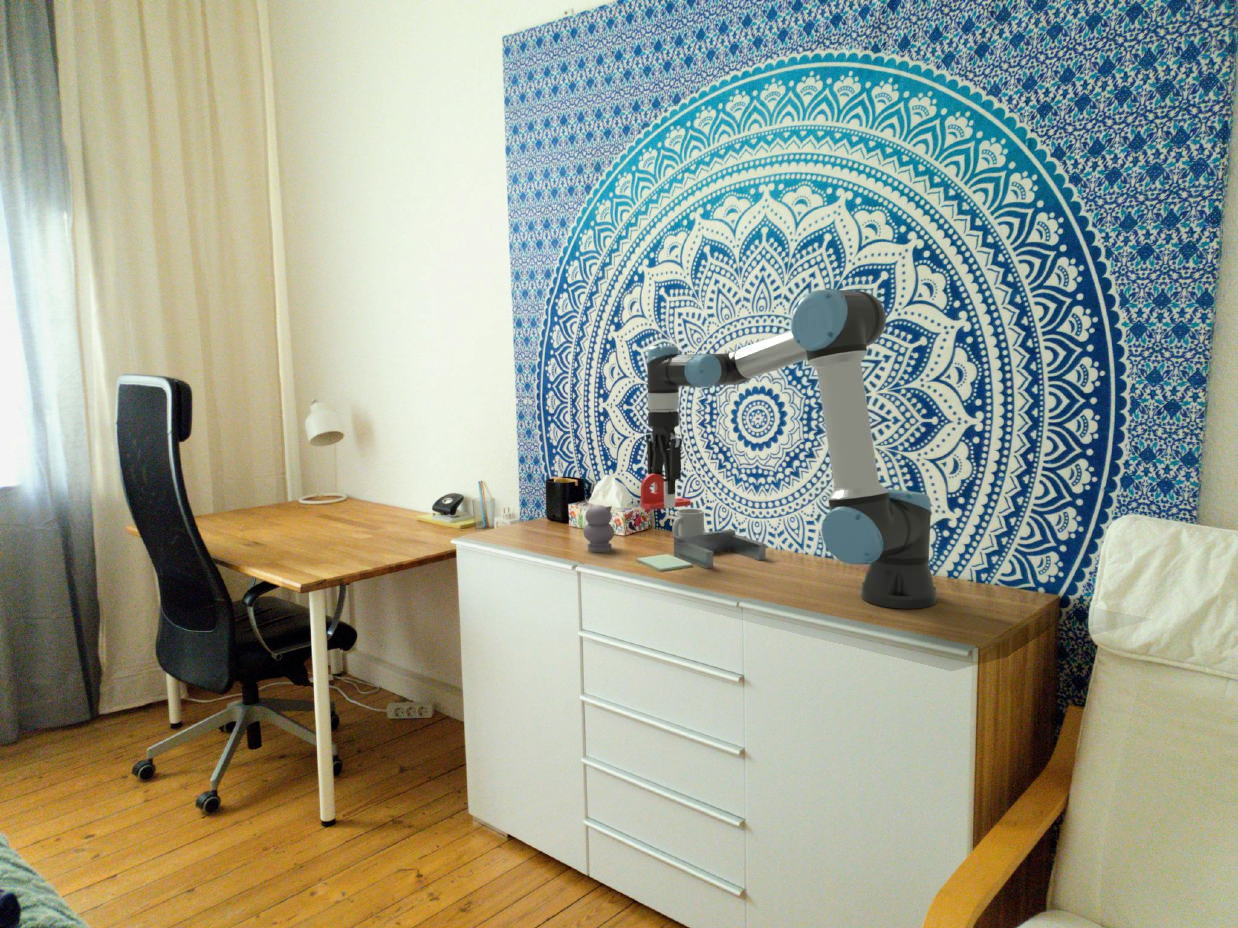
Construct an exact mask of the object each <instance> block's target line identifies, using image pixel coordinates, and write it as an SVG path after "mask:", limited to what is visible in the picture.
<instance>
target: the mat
mask: <svg viewBox="0 0 1238 928" xmlns="http://www.w3.org/2000/svg"><path fill="white" fill-rule="evenodd" d="M636 562H638V563H641V564H642V565H645V566H648V567H650V568H653V570H654V569H655V570H657V571H659V572H664V571H665V572H666V571H672V570H673V571H674V570H678V569H685V568H692V567H693V566H694V564H693V563H691V562H688V561H686V560H683V559H681V558H678V557H675V556H674V555H670V554H668V553H666V554H657V555H651V556H644V557H638V558H636Z"/></svg>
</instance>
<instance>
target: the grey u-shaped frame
mask: <svg viewBox="0 0 1238 928" xmlns="http://www.w3.org/2000/svg"><path fill="white" fill-rule="evenodd" d="M766 545H767V544H766V543H764V542H761V541H758V540H754V539H751V538H748V537H745V536H741V535H739V534H736V530H735V529H732V528H731V529H730V528H729V529H724V530H716V531H708V532H704V533H699V534H691V535H684V536H676V537H673V557H676V558H679V559H681V560H684V561H686V562H689V563H691V564H693V565H696V566H698V567H701V568H704V569H713V568H714V553H719V552H725V551H730V552H733V553H736V554H739V555H742V556H744V557H748V558H750V559H753V560H756V561H765V560H766V559H767V558H766V553H767V551H766V547H767V546H766Z"/></svg>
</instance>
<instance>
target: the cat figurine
mask: <svg viewBox="0 0 1238 928" xmlns="http://www.w3.org/2000/svg"><path fill="white" fill-rule="evenodd" d="M589 505H590V506H589V507H588V509H587V510H586V512H585V520H586V522H587V524H586V525H584V528H583V536H584V538H585V539H586V540H587V541H588V542H589V543H588V544H587V551H589V552H591V553H607V552H610V551H612V548H613V546H612V543H611V542H610V541H611V540H613V538H614V537H615V529H614V527H613V526H612V525H611V521H612V516H613V515H612V513H611V510H612V507H613V505H609V506H604V505H602V504H593V503H590V504H589Z"/></svg>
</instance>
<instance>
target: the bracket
mask: <svg viewBox="0 0 1238 928" xmlns="http://www.w3.org/2000/svg"><path fill="white" fill-rule="evenodd" d="M663 479H665V478H664V477H662V476H661V475H658V474H647V475H646V476H645V477H643V479H642V480H641V484H640V507H641V508H643V509H646V510H649V511H652V510H663V509H664V510H665V508H664V481H663ZM654 482H656V483H657V485H658V489H657V491H656V492H655V493H653V492H652V491H651V486H652V485H653V483H654ZM691 505H692V503H691V499H688V498H684V497H677V498H676V497H675V507H674V508H681V507H689V506H691ZM669 509H673V507H670V508H669Z"/></svg>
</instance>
